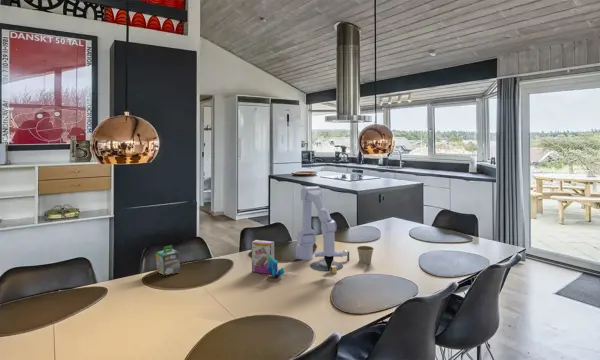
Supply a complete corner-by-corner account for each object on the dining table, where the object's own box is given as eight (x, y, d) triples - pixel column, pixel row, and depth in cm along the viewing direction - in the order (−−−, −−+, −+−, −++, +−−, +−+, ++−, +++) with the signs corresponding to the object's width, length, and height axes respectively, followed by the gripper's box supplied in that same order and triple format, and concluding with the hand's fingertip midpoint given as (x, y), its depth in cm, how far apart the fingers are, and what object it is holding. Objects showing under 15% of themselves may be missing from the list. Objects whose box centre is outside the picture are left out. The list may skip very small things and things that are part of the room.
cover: (322, 268, 194) (322, 261, 194) (317, 264, 202) (316, 257, 201) (336, 267, 197) (336, 259, 196) (330, 262, 204) (330, 255, 204)
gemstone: (270, 283, 178) (270, 259, 177) (264, 277, 186) (264, 254, 185) (284, 280, 181) (284, 257, 180) (278, 275, 189) (278, 252, 187)
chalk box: (172, 268, 200) (171, 242, 198) (180, 273, 193) (179, 245, 192) (156, 273, 193) (154, 245, 192) (163, 277, 187) (162, 249, 185)
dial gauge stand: (342, 262, 208) (342, 250, 208) (343, 260, 212) (343, 248, 211) (350, 263, 206) (350, 251, 206) (352, 261, 210) (352, 249, 209)
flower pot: (373, 266, 201) (373, 250, 200) (356, 265, 203) (356, 250, 202) (373, 261, 210) (373, 246, 209) (357, 260, 212) (357, 245, 211)
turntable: (317, 275, 185) (317, 269, 185) (305, 263, 205) (305, 257, 205) (350, 272, 190) (350, 265, 190) (335, 260, 210) (335, 254, 210)
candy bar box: (251, 272, 193) (250, 242, 191) (255, 269, 198) (255, 239, 196) (271, 274, 189) (270, 243, 188) (275, 271, 194) (274, 241, 192)
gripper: (314, 246, 184) (314, 272, 185) (343, 246, 184) (343, 273, 185) (314, 242, 191) (314, 268, 192) (342, 242, 191) (342, 268, 192)
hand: (328, 270), depth 189 cm, fingers closed
